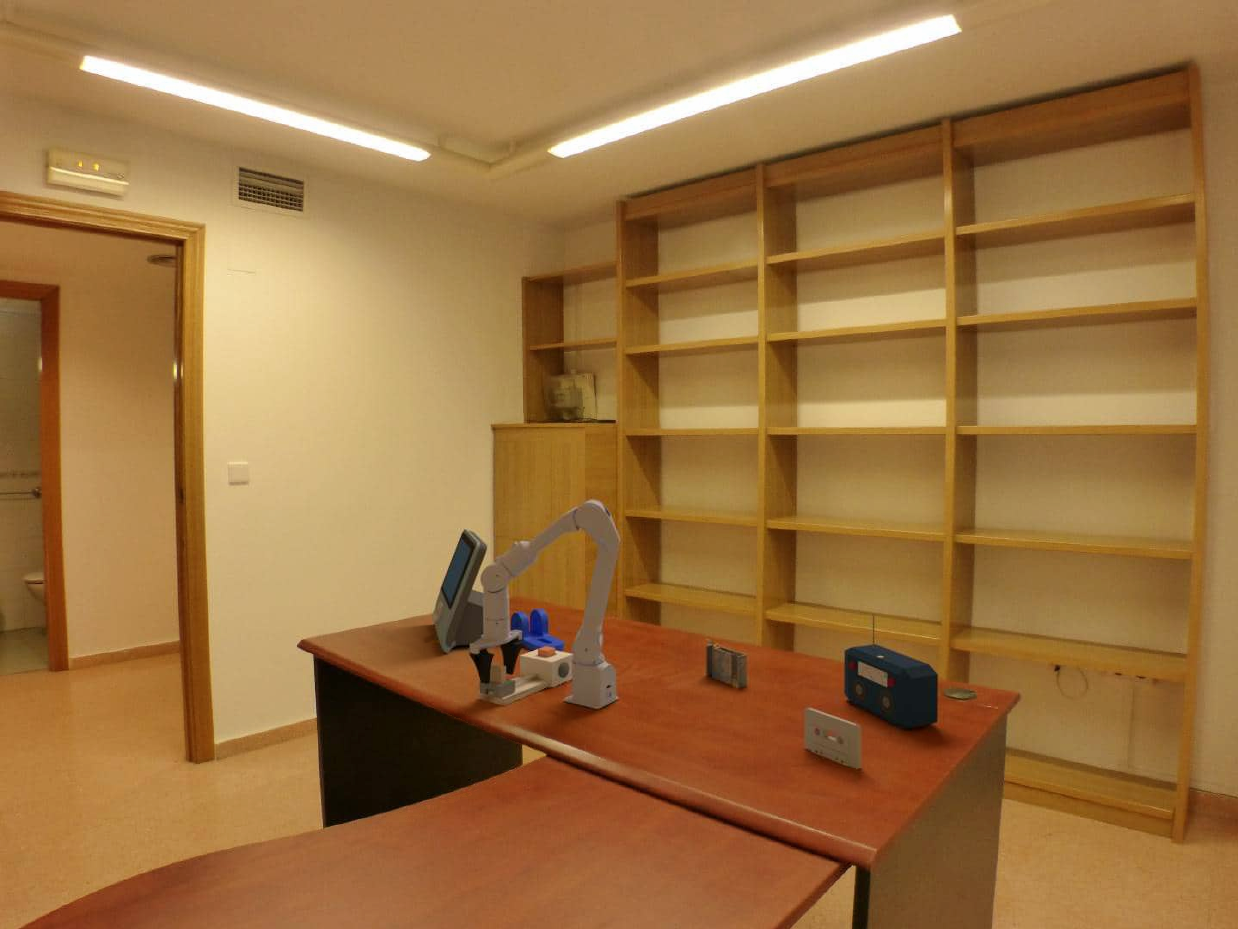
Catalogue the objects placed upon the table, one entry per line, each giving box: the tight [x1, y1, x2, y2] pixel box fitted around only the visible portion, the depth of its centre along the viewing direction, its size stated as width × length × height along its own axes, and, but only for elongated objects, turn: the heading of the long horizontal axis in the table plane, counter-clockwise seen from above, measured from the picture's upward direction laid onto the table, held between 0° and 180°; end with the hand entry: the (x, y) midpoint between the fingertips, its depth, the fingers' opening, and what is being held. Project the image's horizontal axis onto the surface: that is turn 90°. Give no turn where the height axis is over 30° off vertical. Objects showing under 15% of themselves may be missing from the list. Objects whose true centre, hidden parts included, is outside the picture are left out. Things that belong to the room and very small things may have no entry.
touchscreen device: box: [431, 528, 488, 654], centre depth 227 cm, size 35×20×30 cm, turn 17°
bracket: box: [510, 608, 565, 652], centre depth 216 cm, size 18×8×9 cm, turn 37°
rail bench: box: [477, 675, 550, 706], centre depth 177 cm, size 8×15×2 cm, turn 145°
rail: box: [488, 673, 539, 696], centre depth 177 cm, size 2×15×1 cm, turn 145°
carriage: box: [478, 662, 515, 698], centre depth 172 cm, size 6×5×6 cm
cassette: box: [803, 706, 862, 770], centre depth 140 cm, size 12×2×8 cm, turn 37°
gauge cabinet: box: [519, 649, 573, 688], centre depth 186 cm, size 10×8×6 cm
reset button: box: [538, 646, 556, 658], centre depth 186 cm, size 3×3×2 cm
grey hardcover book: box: [704, 638, 748, 689], centre depth 185 cm, size 11×3×10 cm, turn 35°
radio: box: [843, 612, 939, 730], centre depth 162 cm, size 21×9×20 cm, turn 21°
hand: (497, 678), depth 172 cm, fingers open, 7 cm apart
